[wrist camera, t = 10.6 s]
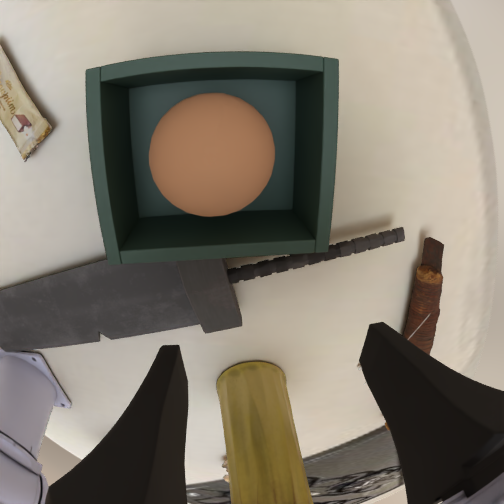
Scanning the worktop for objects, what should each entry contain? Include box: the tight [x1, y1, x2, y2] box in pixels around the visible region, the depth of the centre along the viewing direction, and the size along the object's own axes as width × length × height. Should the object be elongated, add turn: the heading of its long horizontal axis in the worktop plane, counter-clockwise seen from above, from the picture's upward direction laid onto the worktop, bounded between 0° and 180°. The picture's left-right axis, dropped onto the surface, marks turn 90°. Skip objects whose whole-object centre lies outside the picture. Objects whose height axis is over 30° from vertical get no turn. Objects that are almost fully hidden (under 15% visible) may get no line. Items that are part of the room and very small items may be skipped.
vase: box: [216, 362, 313, 504], centre depth 18 cm, size 6×6×14 cm
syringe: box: [358, 314, 430, 385], centre depth 23 cm, size 10×2×2 cm
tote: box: [86, 51, 339, 265], centre depth 14 cm, size 10×9×5 cm
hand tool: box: [385, 237, 444, 430], centre depth 25 cm, size 26×3×4 cm, turn 11°
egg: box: [149, 93, 275, 217], centre depth 12 cm, size 5×5×7 cm
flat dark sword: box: [0, 227, 405, 352], centre depth 18 cm, size 7×35×2 cm, turn 102°
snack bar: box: [0, 45, 52, 162], centre depth 12 cm, size 10×2×3 cm
